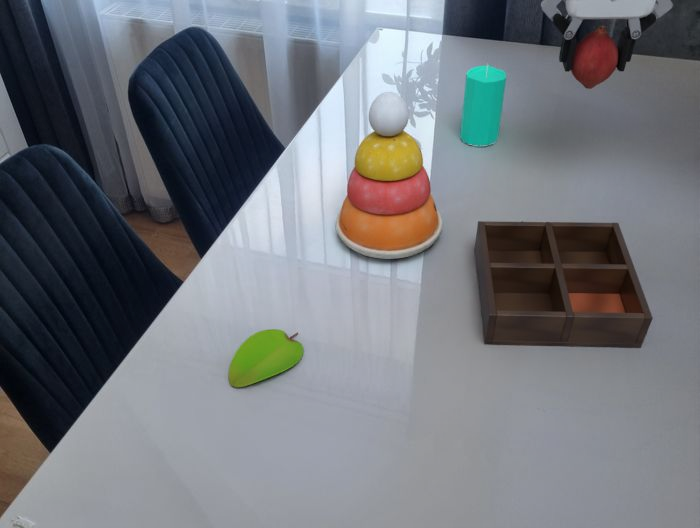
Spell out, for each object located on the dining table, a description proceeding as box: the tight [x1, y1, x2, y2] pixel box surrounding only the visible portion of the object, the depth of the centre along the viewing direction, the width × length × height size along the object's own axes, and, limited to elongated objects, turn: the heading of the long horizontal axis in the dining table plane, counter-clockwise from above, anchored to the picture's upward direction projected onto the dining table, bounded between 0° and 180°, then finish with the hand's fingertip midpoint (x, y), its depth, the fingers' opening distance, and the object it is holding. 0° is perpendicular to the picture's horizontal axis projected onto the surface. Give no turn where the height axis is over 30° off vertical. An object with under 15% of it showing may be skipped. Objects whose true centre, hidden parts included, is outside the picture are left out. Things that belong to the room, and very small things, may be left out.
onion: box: [570, 25, 618, 90], centre depth 87 cm, size 6×6×8 cm
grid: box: [473, 220, 653, 349], centre depth 81 cm, size 17×17×5 cm
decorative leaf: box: [228, 328, 304, 388], centre depth 76 cm, size 8×9×1 cm
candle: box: [459, 63, 507, 146], centre depth 105 cm, size 6×6×12 cm
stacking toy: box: [335, 91, 443, 260], centre depth 86 cm, size 14×14×20 cm
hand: (592, 65), depth 88 cm, fingers closed on onion, 5 cm apart
